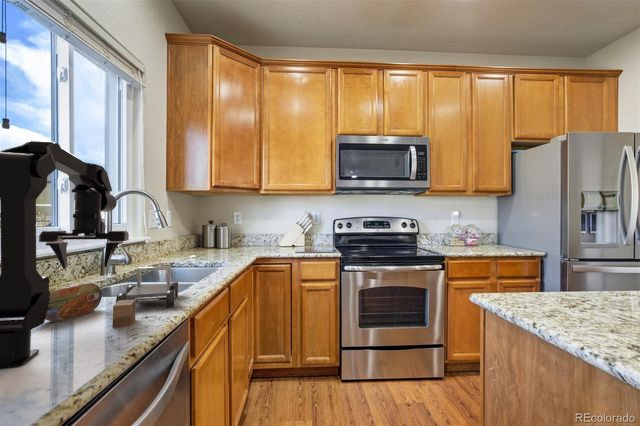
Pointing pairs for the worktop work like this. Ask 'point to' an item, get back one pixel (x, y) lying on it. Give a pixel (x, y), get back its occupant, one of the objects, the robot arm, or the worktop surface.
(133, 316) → the block
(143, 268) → the trolley
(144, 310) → the worktop surface
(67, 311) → the tin
